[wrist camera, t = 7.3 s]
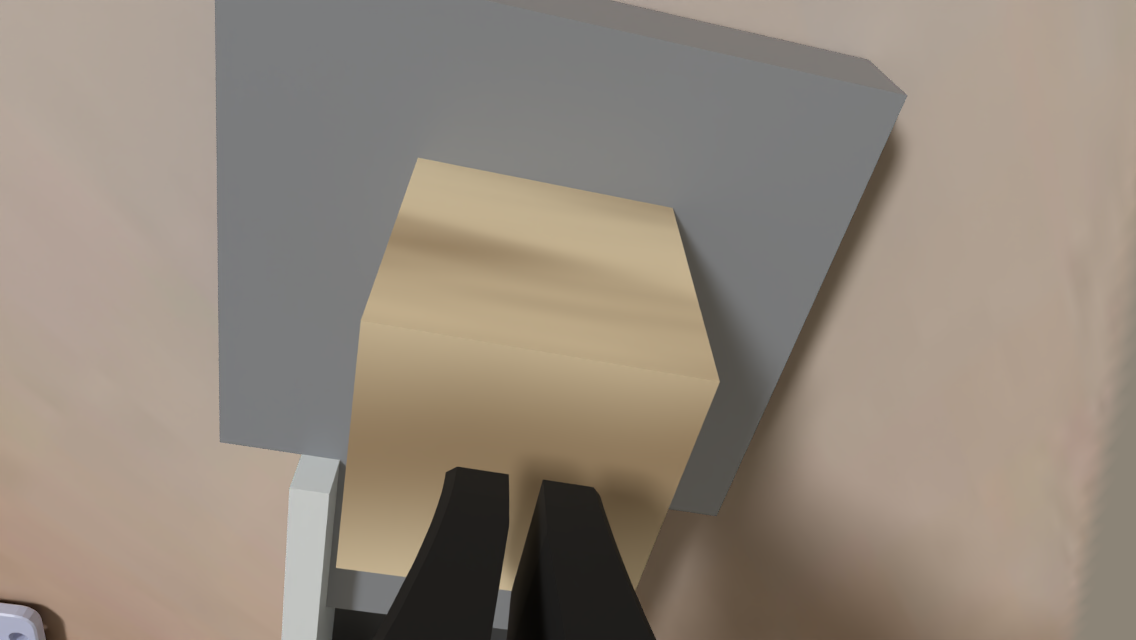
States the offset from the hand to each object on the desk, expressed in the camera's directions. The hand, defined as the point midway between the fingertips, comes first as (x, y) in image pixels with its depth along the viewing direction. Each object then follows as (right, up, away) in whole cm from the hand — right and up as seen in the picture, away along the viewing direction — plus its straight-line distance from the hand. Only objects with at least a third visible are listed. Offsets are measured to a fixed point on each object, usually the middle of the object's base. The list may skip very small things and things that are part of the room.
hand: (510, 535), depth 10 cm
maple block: (0, +3, +6) cm, 6 cm away
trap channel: (-2, -1, +11) cm, 11 cm away
